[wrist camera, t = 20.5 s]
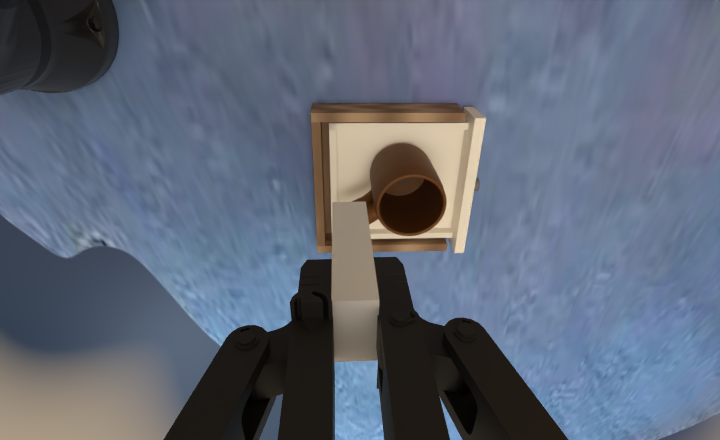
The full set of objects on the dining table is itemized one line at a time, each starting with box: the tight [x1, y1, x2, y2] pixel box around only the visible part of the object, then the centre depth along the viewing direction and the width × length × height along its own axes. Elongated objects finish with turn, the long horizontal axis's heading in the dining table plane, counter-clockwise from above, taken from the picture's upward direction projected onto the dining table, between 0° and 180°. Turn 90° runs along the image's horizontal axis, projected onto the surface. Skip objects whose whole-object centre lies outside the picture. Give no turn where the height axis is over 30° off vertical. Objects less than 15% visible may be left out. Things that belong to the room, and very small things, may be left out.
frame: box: [311, 104, 466, 253], centre depth 51 cm, size 17×18×4 cm
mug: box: [352, 143, 447, 236], centre depth 47 cm, size 12×8×9 cm, turn 112°
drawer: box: [329, 107, 486, 253], centre depth 51 cm, size 18×18×5 cm
